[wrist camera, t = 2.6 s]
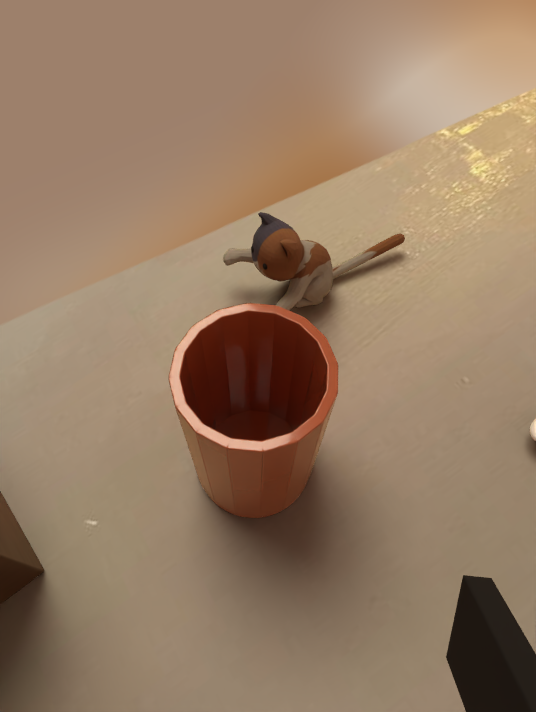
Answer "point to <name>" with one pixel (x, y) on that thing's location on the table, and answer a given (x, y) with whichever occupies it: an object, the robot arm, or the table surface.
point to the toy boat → (533, 429)
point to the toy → (299, 261)
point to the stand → (14, 555)
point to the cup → (254, 404)
